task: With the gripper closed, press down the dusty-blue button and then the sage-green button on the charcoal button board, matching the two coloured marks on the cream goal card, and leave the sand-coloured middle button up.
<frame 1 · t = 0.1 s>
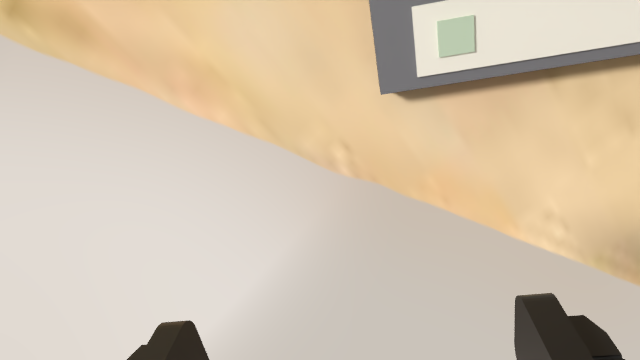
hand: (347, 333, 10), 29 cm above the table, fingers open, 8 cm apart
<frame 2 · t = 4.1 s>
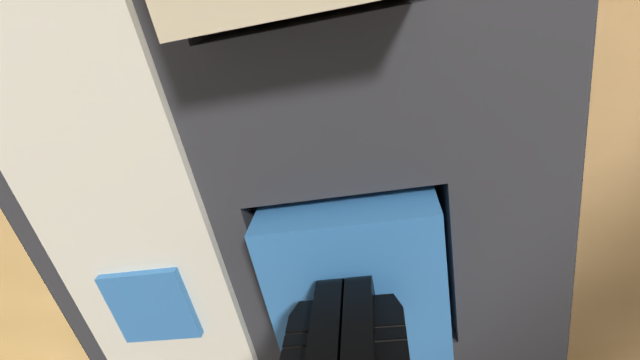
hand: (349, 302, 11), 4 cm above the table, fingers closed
button blue: (356, 263, 13), point 2 cm above the table, slide at 1.0 cm, touching gripper
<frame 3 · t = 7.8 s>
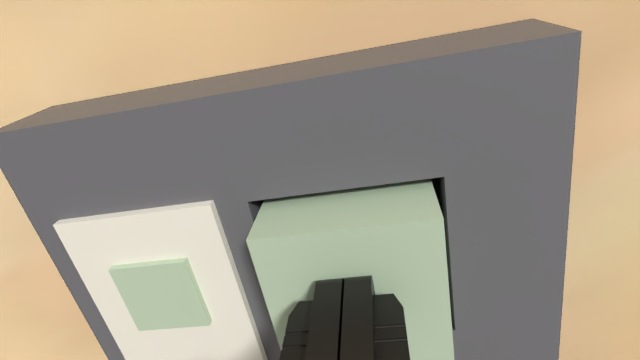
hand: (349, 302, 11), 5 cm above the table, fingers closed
button sage: (357, 266, 13), point 3 cm above the table, slide at 0.4 cm, touching gripper
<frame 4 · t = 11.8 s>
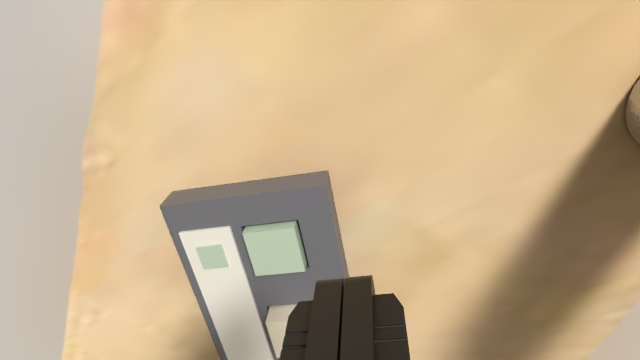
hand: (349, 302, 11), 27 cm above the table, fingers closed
button sand: (297, 326, 44), point 3 cm above the table, slide at 0.0 cm
button sage: (277, 242, 41), point 2 cm above the table, slide at 1.1 cm
button board: (283, 306, 48), on the table
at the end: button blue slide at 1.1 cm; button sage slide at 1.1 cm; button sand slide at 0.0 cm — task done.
